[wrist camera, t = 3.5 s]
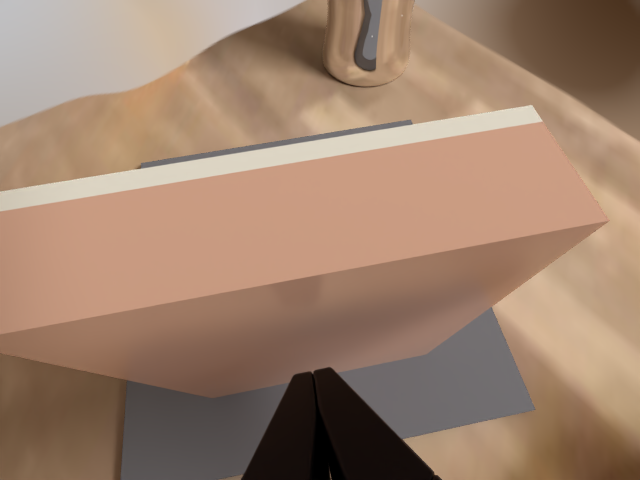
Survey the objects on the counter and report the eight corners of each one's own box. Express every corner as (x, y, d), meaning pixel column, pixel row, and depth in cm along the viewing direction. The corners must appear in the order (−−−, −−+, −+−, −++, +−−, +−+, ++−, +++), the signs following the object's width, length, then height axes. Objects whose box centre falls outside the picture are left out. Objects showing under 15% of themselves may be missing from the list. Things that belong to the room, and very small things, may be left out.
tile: (425, 354, 15) (610, 220, 5) (212, 398, 14) (-47, 343, 4) (408, 300, 16) (531, 105, 6) (210, 339, 15) (-2, 192, 6)
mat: (527, 410, 14) (535, 409, 14) (127, 497, 13) (119, 500, 13) (408, 127, 22) (410, 119, 21) (146, 169, 21) (141, 163, 20)
